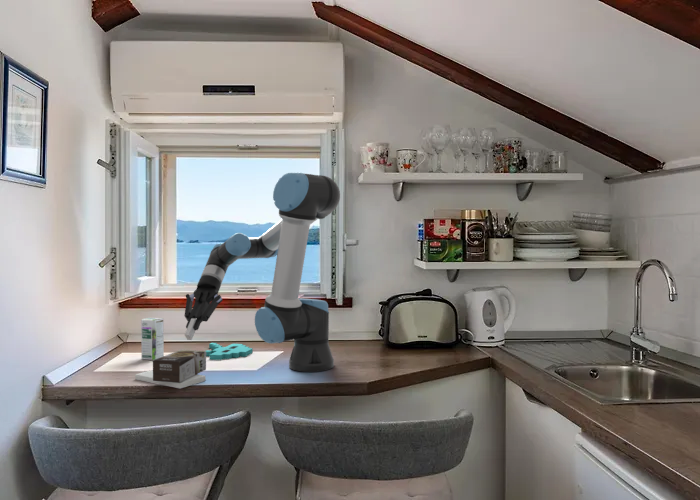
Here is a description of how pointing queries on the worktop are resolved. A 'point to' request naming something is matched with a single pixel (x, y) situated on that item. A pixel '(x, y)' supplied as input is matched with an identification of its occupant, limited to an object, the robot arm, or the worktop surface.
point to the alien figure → (228, 351)
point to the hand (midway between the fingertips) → (188, 337)
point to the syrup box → (152, 338)
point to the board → (192, 380)
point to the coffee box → (179, 365)
